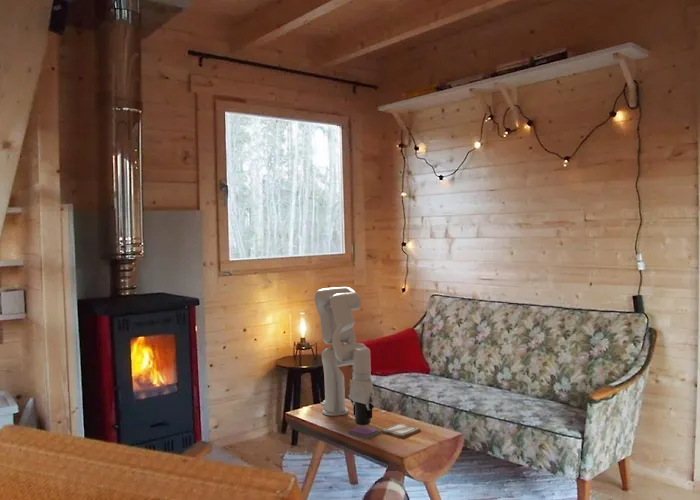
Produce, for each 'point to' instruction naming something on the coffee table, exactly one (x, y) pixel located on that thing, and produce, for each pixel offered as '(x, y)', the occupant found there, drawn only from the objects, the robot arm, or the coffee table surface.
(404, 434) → the white square tile
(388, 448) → the coffee table surface
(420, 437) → the coffee table surface
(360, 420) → the supplement bottle
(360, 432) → the ink pad
